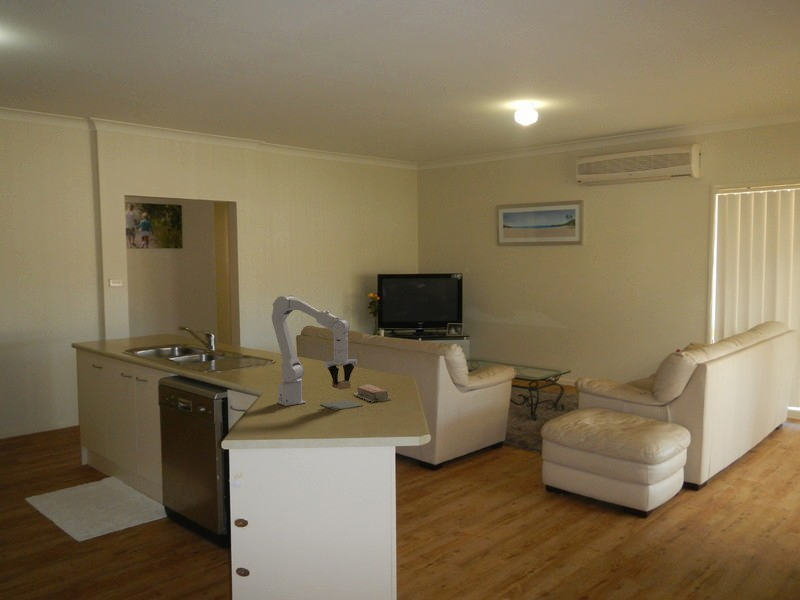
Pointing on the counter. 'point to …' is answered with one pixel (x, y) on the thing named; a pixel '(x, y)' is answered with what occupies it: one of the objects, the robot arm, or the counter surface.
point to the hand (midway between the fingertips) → (341, 383)
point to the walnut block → (341, 384)
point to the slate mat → (341, 405)
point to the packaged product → (372, 393)
